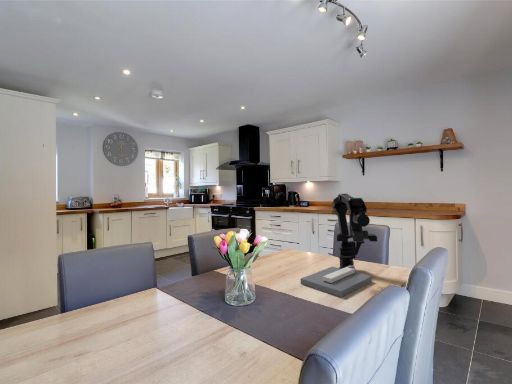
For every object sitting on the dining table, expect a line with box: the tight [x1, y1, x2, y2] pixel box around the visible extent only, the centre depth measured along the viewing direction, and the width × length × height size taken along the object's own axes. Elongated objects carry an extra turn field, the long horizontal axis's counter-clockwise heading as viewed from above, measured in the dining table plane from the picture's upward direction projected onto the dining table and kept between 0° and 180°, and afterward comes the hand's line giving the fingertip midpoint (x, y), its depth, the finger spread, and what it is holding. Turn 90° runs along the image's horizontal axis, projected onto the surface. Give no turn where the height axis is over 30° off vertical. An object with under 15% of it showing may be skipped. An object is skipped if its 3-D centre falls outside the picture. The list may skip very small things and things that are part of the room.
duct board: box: [300, 266, 373, 298], centre depth 130 cm, size 22×26×2 cm
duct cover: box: [323, 265, 356, 283], centre depth 131 cm, size 22×4×3 cm, turn 130°
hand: (356, 254), depth 134 cm, fingers closed
